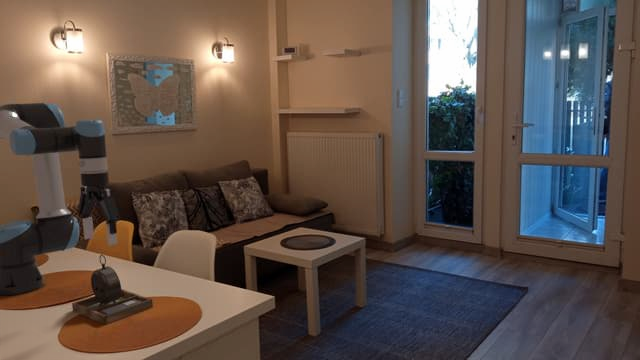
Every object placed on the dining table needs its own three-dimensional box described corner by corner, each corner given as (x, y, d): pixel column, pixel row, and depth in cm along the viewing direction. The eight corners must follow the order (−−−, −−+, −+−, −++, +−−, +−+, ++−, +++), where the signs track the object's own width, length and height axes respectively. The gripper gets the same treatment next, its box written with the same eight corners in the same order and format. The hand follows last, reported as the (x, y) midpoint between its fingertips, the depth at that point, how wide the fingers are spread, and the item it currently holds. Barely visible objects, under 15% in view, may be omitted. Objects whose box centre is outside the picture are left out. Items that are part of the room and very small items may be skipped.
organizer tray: (73, 313, 157) (71, 303, 157) (120, 297, 169) (119, 288, 169) (105, 327, 146) (104, 316, 146) (152, 309, 158) (152, 299, 158)
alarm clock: (124, 307, 158) (119, 255, 156) (107, 312, 154) (102, 259, 152) (106, 299, 165) (101, 250, 163) (89, 304, 161) (84, 254, 159)
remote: (101, 317, 151) (101, 309, 151) (135, 305, 160) (134, 298, 159) (109, 320, 149) (108, 312, 148) (142, 308, 157) (142, 301, 157)
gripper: (61, 171, 159) (68, 238, 162) (104, 175, 143) (111, 249, 146) (85, 168, 165) (91, 233, 167) (129, 172, 149) (135, 244, 152)
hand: (100, 241), depth 157 cm, fingers open, 13 cm apart
